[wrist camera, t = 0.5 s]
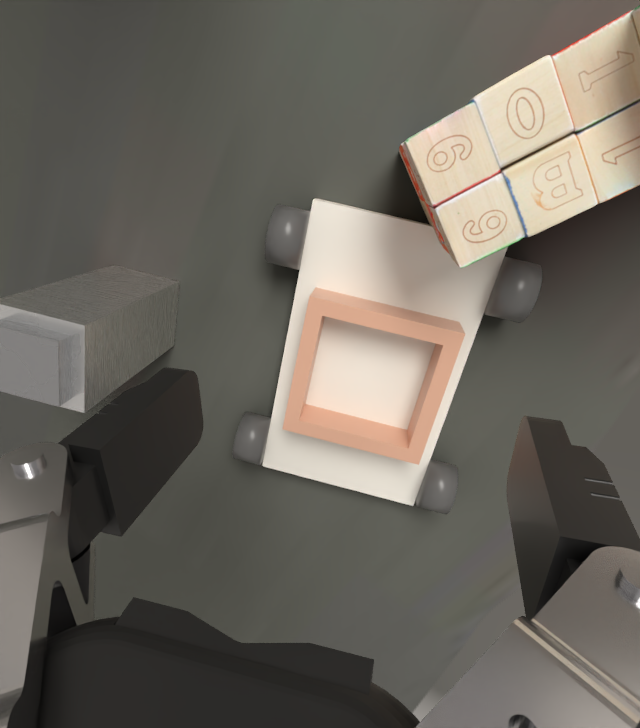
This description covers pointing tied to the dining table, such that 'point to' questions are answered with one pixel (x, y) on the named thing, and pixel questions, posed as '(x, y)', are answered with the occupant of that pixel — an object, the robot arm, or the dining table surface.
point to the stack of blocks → (534, 146)
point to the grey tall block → (85, 335)
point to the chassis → (375, 350)
